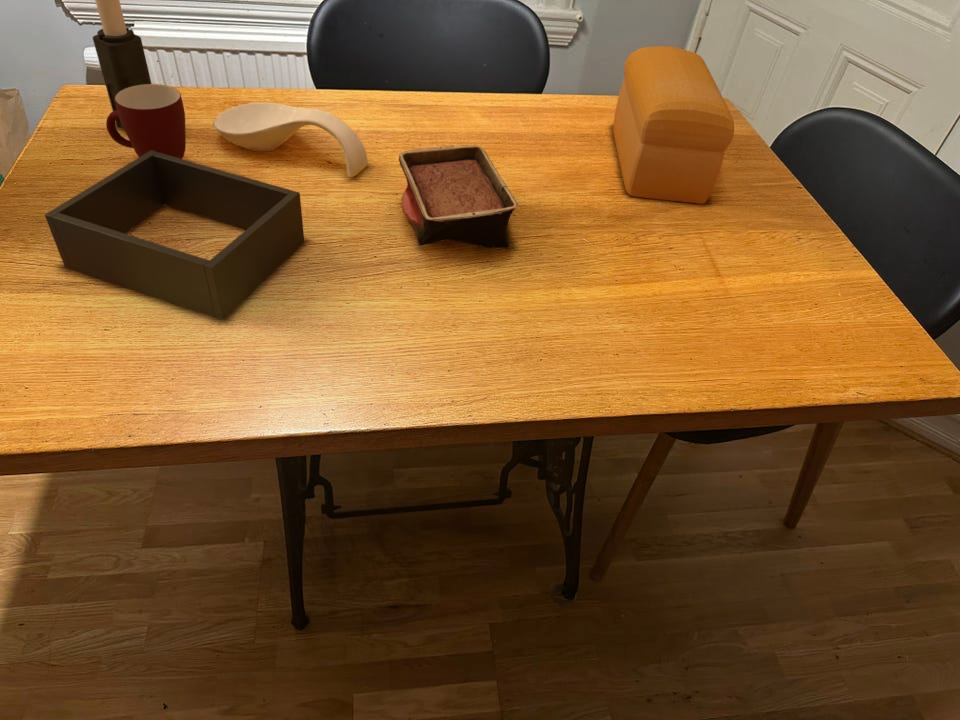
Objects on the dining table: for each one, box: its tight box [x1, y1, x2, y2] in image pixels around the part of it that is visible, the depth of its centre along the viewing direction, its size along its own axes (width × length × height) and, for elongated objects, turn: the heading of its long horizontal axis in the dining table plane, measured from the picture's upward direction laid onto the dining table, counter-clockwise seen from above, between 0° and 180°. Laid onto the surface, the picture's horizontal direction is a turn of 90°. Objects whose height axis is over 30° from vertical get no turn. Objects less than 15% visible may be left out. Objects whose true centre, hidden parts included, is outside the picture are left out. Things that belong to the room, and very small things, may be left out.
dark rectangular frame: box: [44, 150, 305, 321], centre depth 81 cm, size 21×17×7 cm
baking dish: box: [398, 144, 519, 249], centre depth 91 cm, size 14×18×10 cm
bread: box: [612, 45, 735, 204], centre depth 107 cm, size 24×13×15 cm, turn 177°
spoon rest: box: [213, 101, 369, 178], centre depth 101 cm, size 24×12×7 cm, turn 67°
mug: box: [105, 83, 187, 159], centre depth 94 cm, size 10×8×10 cm
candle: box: [92, 0, 153, 129], centre depth 97 cm, size 5×5×25 cm
